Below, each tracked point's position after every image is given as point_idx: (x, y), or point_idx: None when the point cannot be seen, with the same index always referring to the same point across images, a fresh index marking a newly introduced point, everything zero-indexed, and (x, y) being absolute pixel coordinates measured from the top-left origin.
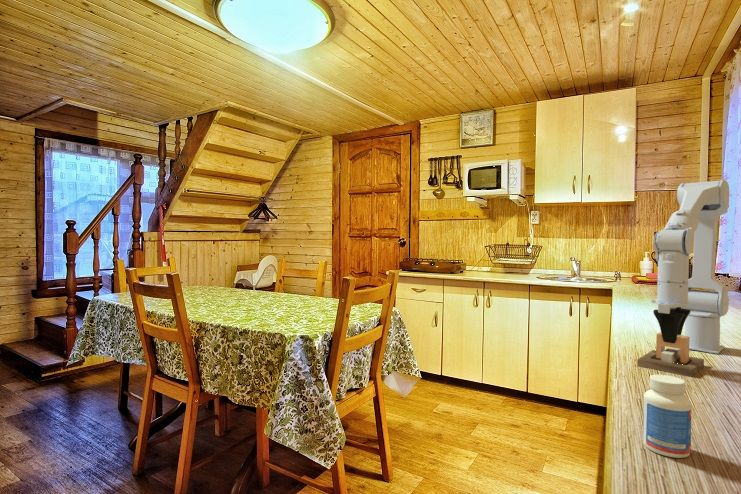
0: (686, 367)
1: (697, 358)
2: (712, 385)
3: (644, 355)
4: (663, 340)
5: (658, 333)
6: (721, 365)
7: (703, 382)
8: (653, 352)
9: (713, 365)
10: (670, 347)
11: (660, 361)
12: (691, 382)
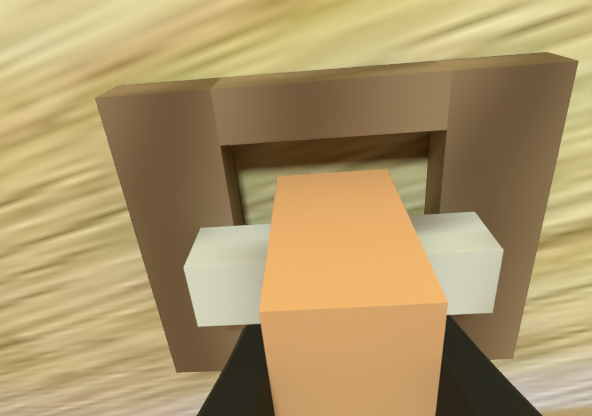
0: (199, 348)
1: (498, 336)
2: (136, 408)
3: (280, 87)
4: (243, 333)
5: (324, 315)
6: (568, 372)
7: (146, 383)
8: (470, 98)
9: (538, 352)
10: (461, 259)
11: (199, 225)
12: (92, 357)
